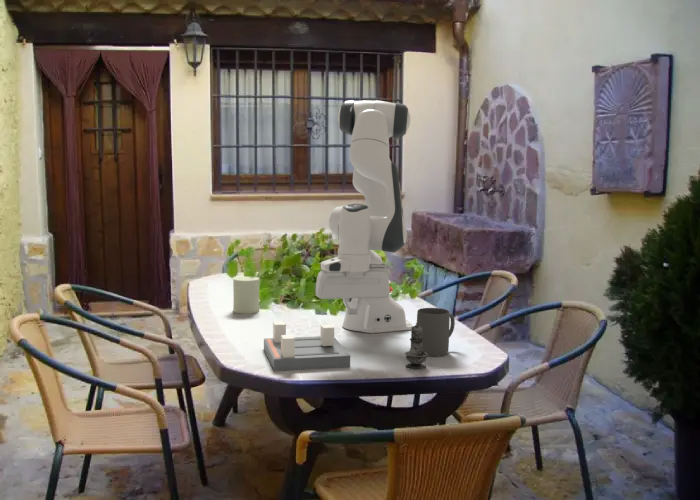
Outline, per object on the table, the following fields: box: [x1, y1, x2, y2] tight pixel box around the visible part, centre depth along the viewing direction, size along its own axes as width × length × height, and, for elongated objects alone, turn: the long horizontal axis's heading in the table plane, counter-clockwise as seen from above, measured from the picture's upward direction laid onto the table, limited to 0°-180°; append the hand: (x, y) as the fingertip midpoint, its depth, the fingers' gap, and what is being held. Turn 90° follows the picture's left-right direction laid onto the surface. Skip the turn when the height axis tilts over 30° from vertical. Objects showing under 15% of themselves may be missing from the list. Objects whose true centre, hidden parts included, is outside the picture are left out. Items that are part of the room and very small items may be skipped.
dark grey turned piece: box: [404, 322, 428, 371], centre depth 196 cm, size 6×6×12 cm
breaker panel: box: [263, 320, 351, 371], centre depth 204 cm, size 20×22×8 cm
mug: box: [416, 307, 456, 358], centre depth 212 cm, size 14×9×12 cm
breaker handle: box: [320, 323, 335, 346], centre depth 205 cm, size 3×4×5 cm
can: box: [232, 276, 260, 315], centre depth 263 cm, size 9×9×12 cm
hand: (352, 314), depth 205 cm, fingers closed
